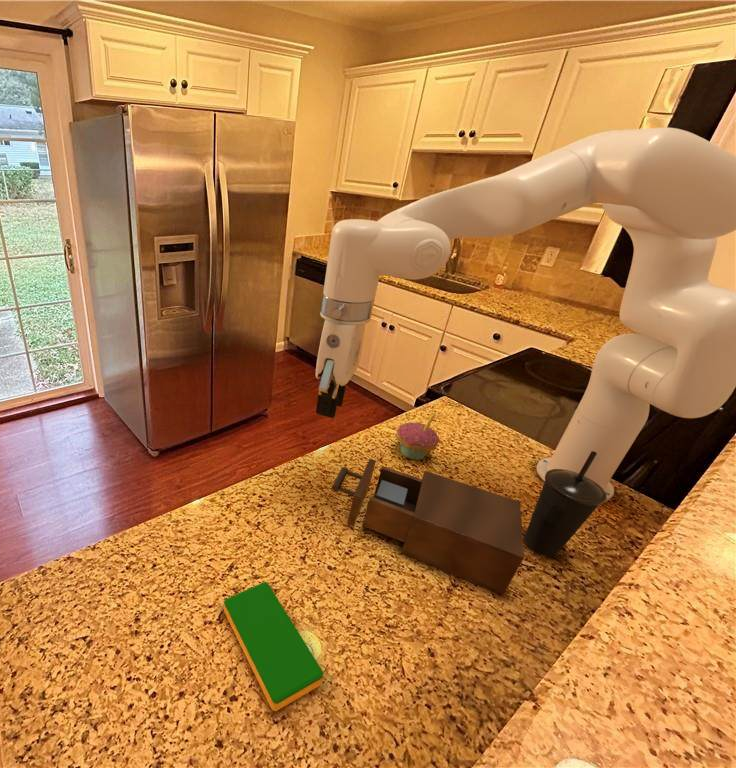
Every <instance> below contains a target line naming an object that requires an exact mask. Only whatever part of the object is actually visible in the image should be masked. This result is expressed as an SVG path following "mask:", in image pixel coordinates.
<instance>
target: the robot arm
mask: <svg viewBox="0 0 736 768" xmlns="http://www.w3.org/2000/svg"><path fill="white" fill-rule="evenodd" d="M593 204H601V207H602V209H603V212H604V214H605V215H606V216H607V218H608V219H609V220H610V221H612V222H613V223H615V224H617V225H619V226H621V227H622V228H623V229H624V230H625V231H626V233H627V234H628V235H629V237H630V239H631V241H632V246H633V253H632V254H633V255H632V260H631V265H630V270H629V273H628V277H627V280H626V284H625V288H624V292H623V295H622V299H621V302H620V307H619V320H620V323H621V324H622V325H623V326H624V327H626V328H627V329H628V330H631V331H633V332H635V333H624V334H619V335H617V336H614V337H612V338H610V339H608V340H607V341H606V342H605V343H604V344H603V345H601V346H600V348H599V349H598V351H597V353H596V355H595V357H594V360H593V364H592V368H591V372H590V377H589V381H588V384H587V387H586V389H585V391H584V394H583V396H582V398H581V399H580V401H579V403H578V406H577V408H576V409H575V410H574V413H573V415H572V417H571V419H570V421H569V422H568V425H567V427H566V428H565V430H564V432H563V434H562V435H561V438H560V440H559V442H558V444H557V446H556V448H555V450H554V451H553V454H552V455H551V457H544V458H542V459H540V460H539V461H538V463H537V465H536V473H537V475H538V476H539V477H540V478H541V480H542V481H543V482H545V474H546V473H547V472H548V471H549V470H552V469H564V470H569V471H573V472H576V473H579V472H580V470H581V469H582V467H583V465H584V463H585V462H586V460H587V458H588V457H589V455H590V453H591V451H594V452H596V453H597V455H596V456H595V458H594V460H593V462H592V463H591V465H590V467H589V468H588V470H587V472H586V474H585V475H584V476H585V477H587V478H589V479H591V480H593V481H594V482H596V483H597V484H598V485H599V486H600V487H602V489H603V490H604V491H605V493H606V496H607V499H606V501H605V502H608V501H610V500H611V499H612V498H613V496H614V494H615V489H614V486H613V485H612V483H611V482H610V480H612V478H613V476H614V474H615V472H616V471H617V469H618V468H619V466H620V464H621V463H622V461H623V460H624V458H625V457H626V455H627V453H628V452H629V450H630V449H631V447H632V445H633V444H634V442H635V441H636V439H637V438H638V436H639V434H640V433H641V431H642V430H643V428H644V427H645V425H646V423H647V421H648V419H649V415H650V405H651V406H653V407H655V408H657V409H658V410H661V411H663V412H665V413H667V414H669V415H672V416H675V417H678V418H682V419H698V418H703V417H706V416H709V415H710V414H712V413H714V412H716V411H717V410H718V409H719V408H721V407H723V405H724V404H725V403H726V402H727V401H728V400H729V398H731V396H732V394H733V393H734V391H735V389H736V290H734V289H733V290H732V289H729V288H725V287H722V286H717V285H713V284H712V283H710V281H709V275H710V271H711V267H712V263H713V260H714V257H715V252H716V250H717V243H718V238H719V237H720V238H721V237H723V236H727V235H729V234H730V233H733V232H735V231H736V155H734V154H733V153H732V152H729V151H728V150H725V149H724V148H722V147H720V146H718V145H716V144H714V143H713V142H711V141H709V140H707V139H705V138H704V137H701V136H699V135H698V134H695V133H693V132H690V131H688V130H684V129H681V128H677V127H669V126H668V127H667V126H666V127H663V126H662V127H649V128H648V127H647V128H629V129H613V130H605V131H601V132H597V133H594V134H590V135H588V136H585V137H583V138H581V139H577V140H576V141H573V142H571V143H569V144H566V145H564V146H562V147H560V148H557V149H556V150H553V151H551V152H549V153H546V154H544V155H541V156H539V157H537V158H535V159H532V160H531V161H528V162H526V163H523V164H521V165H519V166H516V167H514V168H512V169H510V170H507V171H505V172H502V173H499V174H496V175H494V176H490V177H486V178H482V179H479V180H476V181H473V182H470V183H466V184H464V185H461V186H457V187H454V188H449V189H446V190H444V191H440V192H436V193H434V194H431V195H428V196H425V197H422V198H420V199H418V200H416V201H413V202H411V203H409V204H407V205H404V206H401V207H399V208H397V209H396V210H393V211H391V212H389V213H387V214H386V215H383V216H382V217H380V219H378V220H371V219H363V218H362V219H360V218H359V219H358V218H357V219H356V218H351V219H343V220H339V221H337V222H336V223H335V224H334V226H333V228H332V231H331V235H330V241H329V248H328V249H329V250H328V255H327V263H326V270H325V278H324V284H323V291H322V299H321V306H320V312H319V315H320V317H321V318H322V319H324V322H323V327H322V331H321V335H320V336H321V337H320V341H319V347H318V353H317V358H316V367H315V378H316V379H317V380H318V381H319V380H320V381H319V386H318V390H317V391H318V395H317V402H316V407H315V413H316V414H317V415H319V416H320V415H321V416H323V417H327V418H330V419H334V418H335V416H336V414H337V413H336V412H337V408H340V407H342V406H343V403H344V398H345V393H346V388H347V384H348V383H349V382H350V380H351V379H352V377H353V376H354V374H355V372H356V371H357V370H358V368H359V366H360V363H361V361H360V360H361V355H362V351H363V343H364V338H365V337H364V336H365V330H366V324H368V323H370V322H371V319H372V315H373V310H374V304H375V300H376V295H377V290H378V285H379V280H380V277H381V276H385V277H392V278H397V279H398V278H399V279H404V280H411V281H412V280H413V281H414V280H415V281H416V280H422V279H426V278H430V277H432V276H434V275H436V274H437V273H438V272H439V271H441V270H442V269H443V268H444V267H445V266H446V264H447V263H448V260H449V259H450V256H451V249H452V248H451V241H450V240H456V239H464V238H499V237H507V236H514V235H518V234H521V233H524V232H527V231H529V230H532V229H535V228H536V227H538V226H541V225H543V224H545V223H547V222H550V221H552V220H555V219H557V218H559V217H562V216H564V215H566V214H569V213H573V212H575V211H577V210H579V209H582V208H584V207H587V206H590V205H593ZM605 502H604V503H605Z"/></svg>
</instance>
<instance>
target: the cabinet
mask: <svg viewBox="0 0 736 768" xmlns="http://www.w3.org/2000/svg"><path fill="white" fill-rule="evenodd" d="M421 479H422V483H421V487H420V491H419V495H418V500H417V504H416V508H415V512H414V517H413V519H412V522H411V525H410V528H409V531H408V534H407V537H406V540H405V543H404V542H403V544H402V549H401V554H402V555H405V556H407V557H409V558H412V559H415V560H416V561H419V562H421V563H423V564H427V565H429V566H431V567H433V568H436V569H438V570H441V571H443V572H445V573H448V574H450V575H453V576H455V577H457V578H460V579H462V580H464V581H467V582H469V583H472V584H474V585H476V586H479V587H481V588H484V589H486V590H488V591H491V592H492V593H496V594H498V595H500V596H504V594H505V593H506V591H507V589H508V587H509V586H510V584H511V582H512V580H513V579H514V577H515V575H516V573H517V571H518V570H519V568H520V566H521V564H522V562H523V560H524V559H525V549H524V534H523V533H524V532H523V523H522V521H523V520H522V506H521V505H522V504H521V501H519V500H517V499H513V498H510V497H507V496H504V495H502V494H498V493H495V492H491V491H489V490H487V489H483V488H479V487H477V486H474V485H471V484H468V483H465V482H461V481H458V480H455V479H453V478H450V477H446V476H443V475H440V474H437V473H434V472H430V471H428V470H424V471H423V475H422V477H421Z"/></svg>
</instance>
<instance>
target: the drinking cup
mask: <svg viewBox="0 0 736 768" xmlns="http://www.w3.org/2000/svg"><path fill="white" fill-rule="evenodd" d="M596 455H597V453H596V452H594V451H591V453H590V455H589V457H588V458H587V460H586V462H585V463H584V465H583V467H582V469H581V470H580V472H579V473H576V472H573V471H569V470H564V469H552V470H549V471H548V472H547V473H546V474H545V481H543V482H544V483H543V484H542V487H541V490H540V494H539V496H538V499H537V502H536V504H535V507H534V510H533V512H532V514H531V516H530V517H531V518H530V520H529V522H528V524H527V525H528V526H527V528H526V530H525V533H524V535H523V542H524V543H525V545H526V546H527V548H529V549H530V550H531V551H533V552H534V553H535V554H537V555H540V556H543V557H545V558H548V557H549V558H554V557H556V556H557V555H558V554H559V553H560V552H561V550H562V549H563V548H564V547H565V546H566V545H567V543H568V542H569V541H570V540H571V539H572V538H573V536H574V535H575V534H576V533H577V531H578V530H579V529H581V527H582V526H583V525H584V524H585V522H586V521H587V520H588V519H589V517H590V516H591V515H593V513H594V512H595V510H597V509H598V507H599V506H601V505H602V504H604V503H605V501H606V499H607V496H606V493H605V491H604V490H603V489H602V487H600V486H599V485H598V484H597V483H596V482H594V481H593V480H591V479H589V478H587V477H585V476H584V475H585V474H586V472H587V470H588V468H589V467H590V465H591V463H592V462H593V460H594V458H595V456H596ZM606 502H607V501H606Z"/></svg>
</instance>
